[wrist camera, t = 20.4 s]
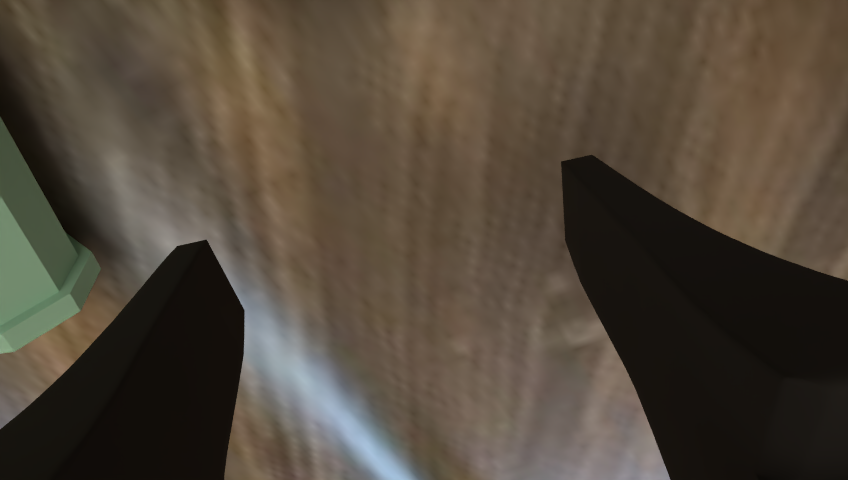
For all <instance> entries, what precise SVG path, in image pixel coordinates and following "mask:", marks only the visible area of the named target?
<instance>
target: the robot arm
mask: <svg viewBox="0 0 848 480" xmlns="http://www.w3.org/2000/svg"><path fill="white" fill-rule="evenodd" d="M561 167H562V186H563V205H564V224H565V241H566V244H567V247H568V250H569V252H570V255H571V258H572V261H573V264H574V266H575V269H576V272H577V274H578V277H579V280H580V282H581V284H582V286H583V288H584V290H585V292H586V294H587V296H588V298H589V300H590V302H591V303H592V305H593V307H594V309H595V311H596V313H597V315H598V317H599V319H600V321H601V323H602V324H603V326H604V328H605V330H606V332H607V334H608V336H609V338H610V340H611V341H612V343H613V345H614V347H615V349H616V351H617V353H618V355H619V357H620V358H621V360H622V362H623V364H624V366H625V368H626V370H627V372H628V374H629V376H630V378H631V381H632V383H633V385H634V387H635V389H636V392H637V394H638V397H639V399H640V402H641V404H642V407H643V409H644V412H645V414H646V417H647V419H648V422H649V424H650V427H651V429H652V432H653V434H654V437H655V440H656V442H657V445H658V448H659V450H660V453H661V456H662V458H663V461H664V464H665V466H666V469H667V471H668V474H669V477H670V479H671V480H848V281H847V280H843V279H840V278H837V277H833V276H830V275H827V274H824V273H821V272H817V271H815V270H812V269H809V268H806V267H803V266H800V265H798V264H795V263H792V262H789V261H786V260H783V259H781V258H778V257H775V256H773V255H770V254H768V253H765V252H763V251H760V250H758V249H756V248H753V247H751V246H749V245H746V244H744V243H742V242H740V241H737V240H735V239H733V238H730V237H728V236H726V235H724V234H722V233H720V232H718V231H716V230H714V229H712V228H710V227H708V226H706V225H704V224H702V223H700V222H698V221H697V220H695V219H693V218H691V217H689V216H687V215H685V214H684V213H682V212H680V211H678V210H677V209H675V208H673V207H671V206H670V205H668V204H666V203H665V202H663V201H661V200H660V199H658V198H656V197H655V196H653V195H652V194H650V193H648V192H647V191H645V190H644V189H642V188H641V187H639V186H638V185H636V184H635V183H633V182H632V181H630V180H629V179H627V178H626V177H624V176H623V175H621V174H620V173H618V172H617V171H615V170H614V169H612V168H611V167H609V166H608V165H606V164H605V163H604V162H602V161H601V160H599V159H598V158H596V157H595V156H593V155H589V156H584V157H580V158H575V159H571V160H566V161H562V162H561ZM243 354H244V309H243V307H242V305H241V303H240V301H239V299H238V297H237V296H236V294H235V292H234V290H233V288H232V286H231V284H230V282H229V281H228V279H227V277H226V275H225V273H224V271H223V269H222V268H221V266H220V264H219V262H218V260H217V258H216V256H215V255H214V253H213V251H212V249H211V247H210V245H209V243H208V241H207V240H203V241H198V242H194V243H189V244H185V245H180V246H177V247H176V248H175V249H174V250H173V251H172V252H171V253H170V254H169V255H168V256H167V258H166V259H165V260H164V261H163V262H162V263H161V265H160V266H159V267H158V268H157V269H156V270H155V272H154V273H153V274H152V275H151V276H150V278H149V279H148V280H147V281H146V282H145V284H144V285H143V286H142V287H141V289H140V290H139V291H138V292H137V293H136V294H135V296H134V297H133V298H132V299H131V300H130V302H129V303H128V304H127V305H126V306H125V307H124V309H123V310H122V311H121V312H120V313H119V315H118V316H117V317H116V318H115V319H114V320H113V322H112V323H111V324H110V325H109V326H108V327H107V328H106V329H105V330H104V331H103V332H102V333H101V335H100V336H99V337H98V338H97V339H96V340H95V341H94V342H93V343H92V344H91V345H90V347H89V348H88V349H87V350H86V351H85V352H84V353H83V354H82V355H81V356H80V357H79V359H78V360H77V361H76V362H75V363H74V364H73V365H72V366H71V367H70V368H69V369H68V370H67V371H66V372H65V373H64V374H63V375H62V376H61V377H59V378H58V379H57V380H56V381H55V382H54V383H53V384H52V385H51V386H50V387H49V388H48V389H47V390H46V391H45V392H43V393H42V394H41V395H40V396H39V397H38V398H37V399H36V400H35V401H34V402H33V403H31V404H30V405H29V406H28V407H27V408H26V409H25V410H23V411H22V412H21V413H20V414H19V415H17V416H16V417H15V418H14V419H12V420H11V421H10V422H9V423H8V424H6V425H5V426H4V427H3V428H1V429H0V480H224V473H225V465H226V457H227V450H228V444H229V438H230V432H231V427H232V421H233V415H234V409H235V404H236V398H237V392H238V386H239V380H240V374H241V368H242V361H243Z"/></svg>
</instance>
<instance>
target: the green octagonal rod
mask: <svg viewBox="0 0 848 480" xmlns="http://www.w3.org/2000/svg"><path fill="white" fill-rule="evenodd" d="M100 270H101V268H100V266H99V264H98V262H97V261H96V259H95V257H94V255H93V253H92V252H91V251H90V250H89V249H87V248H86V247H85V246H83V245H82V244H81V243H79V242H78V241H77V240H75V239H74V238H72V237H71V236H70V235H68V234H67V233H66V232H65V231H64V229H63V228H62V226H61V224H60V222H59V220H58V219H57V217H56V215H55V213H54V212H53V210H52V208H51V206H50V204H49V203H48V201H47V199H46V197H45V196H44V194H43V192H42V190H41V188H40V187H39V185H38V183H37V181H36V179H35V178H34V176H33V174H32V172H31V171H30V169H29V167H28V165H27V163H26V162H25V160H24V158H23V156H22V155H21V153H20V151H19V149H18V147H17V146H16V144H15V142H14V140H13V138H12V137H11V135H10V133H9V131H8V130H7V128H6V126H5V124H4V122H3V121H2V119H1V117H0V353H8V352H15V351H16V350H18V349H20V348H21V347H23V346H25V345H26V344H28V343H29V342H31V341H33V340H34V339H36V338H38V337H39V336H41V335H42V334H44V333H46V332H47V331H49V330H51V329H52V328H54V327H55V326H57V325H59V324H60V323H62V322H64V321H65V320H67V319H68V318H70V317H72V316H73V315H75V314H77V313H78V312H80V311H81V309H82V307H83V305H84V303H85V301H86V299H87V297H88V295H89V293H90V291H91V289H92V286H93V284H94V282H95V280H96V278H97V276H98V274H99V272H100Z"/></svg>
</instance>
